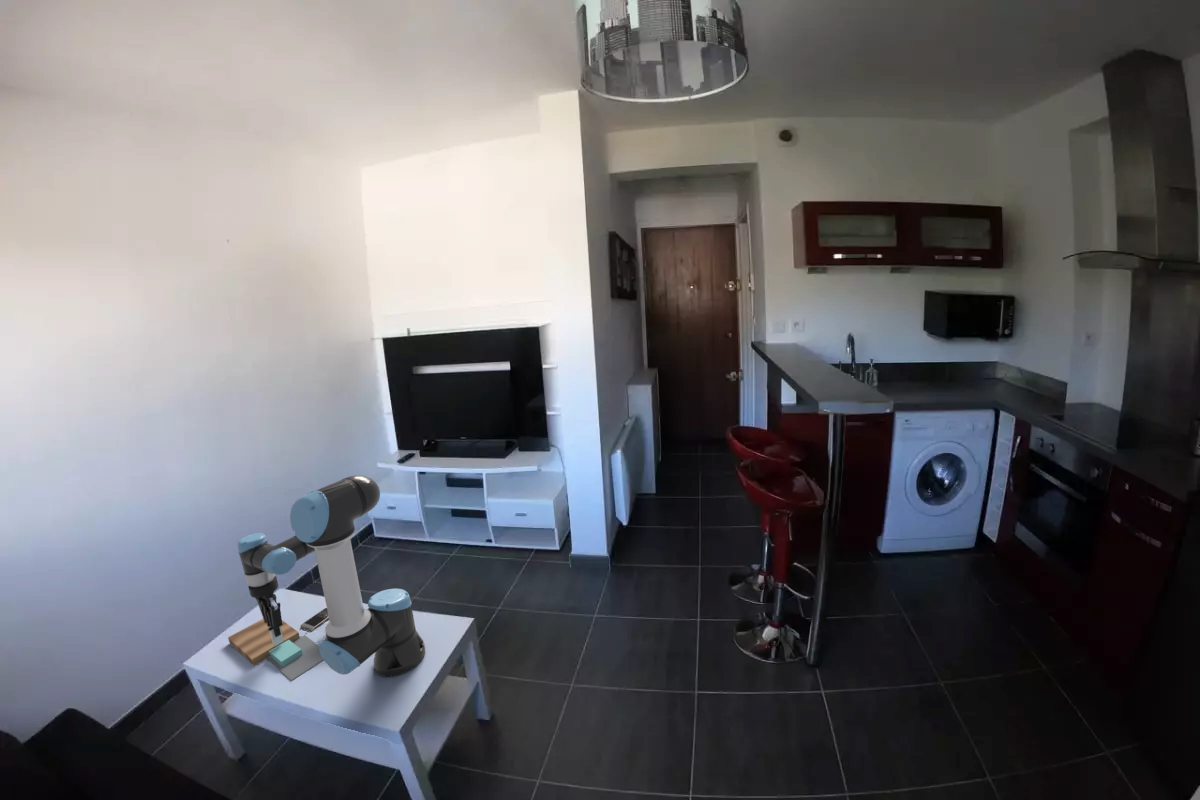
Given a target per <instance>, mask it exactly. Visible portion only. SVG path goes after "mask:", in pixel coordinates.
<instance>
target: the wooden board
mask: <svg viewBox="0 0 1200 800" xmlns="http://www.w3.org/2000/svg"><path fill="white" fill-rule="evenodd" d="M282 624H283V625H282V626H280V627H281V631H282V635H283V639H284V641H283V642H282V643H284V642H286V641H287V640H290V641H291V642H294V641H295V640H297V639H299V638H300V632H299V631H298V630H296V629H295V628H294V627H292V626H291V625H290V624H288V623H287V622H285V620H283V619H282ZM269 627H270V626H269ZM269 627H268V626H267V623H265V622H264V619H263V618H262V619H260V620H258V621H256V622H254V623H252V624H251V625H249V626H247V627H245V628H243V629H241V630H239V631H237V632H235V633H234V634H231V635H229V636H228V637H227V639H228V643H229V644H230V646H231V647H232V648H234V649H235V650H236V651H237V652H239V654H240V655H241V656H243V658H245V660H247V661H248V662H249V663H250V664H251V665H252V666H253V667H255V666H256V665H258V664H260V663H261V662H262V663H263V661H265V660H267V659H266V658H267V657H268V656H270V653H269V651H270V650H272V649H274V648H275V647H277V646H279V645H281V644H282V643H280V644H278V645H277V646H274V645H273V642H272V639H271V635H270V631H269V630H268V629H269Z"/></svg>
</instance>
